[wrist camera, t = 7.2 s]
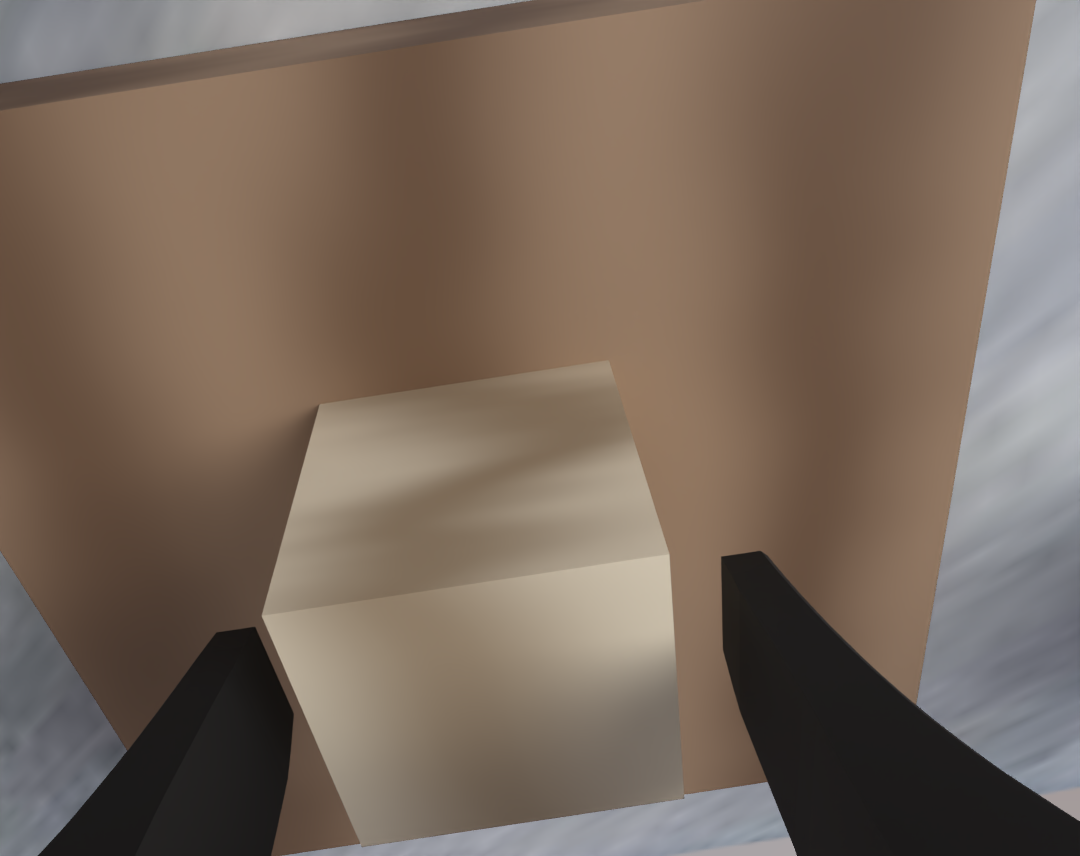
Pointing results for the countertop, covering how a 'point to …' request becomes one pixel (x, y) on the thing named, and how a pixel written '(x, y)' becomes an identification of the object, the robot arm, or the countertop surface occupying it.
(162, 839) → the robot arm
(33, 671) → the countertop surface
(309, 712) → the birch cube
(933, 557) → the walnut plinth
